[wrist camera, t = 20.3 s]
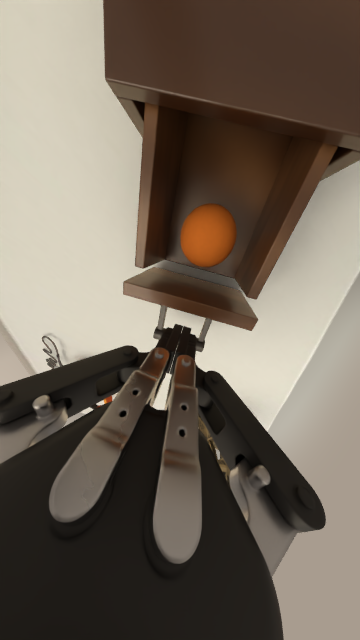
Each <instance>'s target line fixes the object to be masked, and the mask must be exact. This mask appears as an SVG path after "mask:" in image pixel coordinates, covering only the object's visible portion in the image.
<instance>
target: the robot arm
mask: <svg viewBox="0 0 360 640" xmlns="http://www.w3.org/2000/svg"><path fill="white" fill-rule="evenodd" d="M182 328H183V330H182ZM181 331H182V333H181ZM190 332H191V328H188V327H185V326H184V327H183V326H181V325H178V324H175V326H174V328H173V329H172V328H169V327H168V328H167V329H165V330H164V332H163V334H162V336H161V338H160V340H159V342H158V344H157V346H156V348H154V349H152V350H151V351H150V352H147V353H141V352H138V350H137V348H135V347H133V346H123V347H120V348H117V349H114V350H111V351H107V352H104V353H101V354H98V355H95V356H92V357H89V358H86V359H83V360H80V361H77V362H74V363H70V364H67V365H64V366H61V367H58V368H55V369H52V370H49V371H46V372H43V373H40V374H36V375H33V376H30V377H27V378H24V379H21V380H18V381H15V382H12V383H9V384H6V385H3V386H0V640H283V630H282V621H281V614H280V608H279V603H278V599H277V595H276V591H275V587H274V584H273V580H272V576H273V574H274V573H275V571H276V569H277V567H278V566H279V564H280V562H281V560H282V558H283V557H284V555H285V553H286V551H287V550H288V548H289V546H290V544H291V543H292V541H293V539H294V537H295V536H296V534H297V533H301V532H307V531H313V530H320V529H322V528H323V527H324V526H325V521H326V519H325V512H324V509H323V506H322V504H321V502H320V499H319V498H318V496H317V494H316V493H315V491H314V490H313V488H312V487H311V486H310V484H309V483H308V482H307V481H306V480H305V478H304V477H303V476H302V475H301V474H300V472H299V471H298V470H297V468H296V467H295V466H294V465H293V463H292V462H291V461H290V460H289V458H288V457H287V456H286V455H285V453H284V452H283V451H282V450H281V449H280V447H279V446H278V445H277V444H276V442H275V441H274V440H273V439H272V437H271V436H270V435H269V434H268V432H267V431H266V430H265V429H264V427H263V426H262V425H261V424H260V423H259V421H258V420H257V419H256V418H255V416H254V415H253V414H252V413H251V411H250V410H249V409H248V408H247V406H246V405H245V404H244V403H243V401H242V400H241V399H240V398H239V397H238V395H237V394H236V393H235V392H234V390H233V389H232V388H231V387H230V385H229V384H228V383H227V382H226V380H225V379H224V378H223V377H222V376H221V375H220V374H219V373H217V372H215V371H208V372H204V371H203V370H201V369H200V368H198V366H197V365H196V363H195V353H196V345H197V338H196V336H195V335H193V334H190ZM180 335H181V336H180ZM179 338H180V340H179ZM178 342H179V343H178ZM177 345H178V346H177ZM176 348H177V350H176ZM175 352H176V353H175ZM174 355H175V357H174ZM173 358H174V360H173ZM172 362H173V364H172ZM171 365H172V367H171ZM170 368H171V371H170ZM169 371H170V374H172V377H171V380H170V384H169V389H168V394H167V399H166V404H165V409H164V410H156V409H155V408H153V407H152V406H153V403H154V401H155V399H156V396H157V394H158V392H159V389H160V387H161V385H162V382H163V379H164V378H165V375H166V373H169ZM117 392H119V393H118V394H117V396H116V397H115V399H114V400H113V401H112V402H108V403H106V404H104V405H101V406H100V407H98V408H96V409H94V410H93V411H91V412H89V413H87V414H86V415H84V416H82V417H81V418H79V419H77V420H75V421H74V422H72V423H70V424H68V425H67V426H65V427H63V426H64V425H65V423H66V421H67V419H68V418H69V417H71V416H73V415H75V414H77V413H79V412H81V411H83V410H85V409H86V408H88V407H90V406H92V405H94V404H96V403H98V402H100V401H102V400H104V399H106V398H108V397H110V396H111V395H113V394H115V393H117ZM198 413H199V415H200V417H201V418H202V420H203V422H204V424H205V426H206V428H207V429H208V431H209V433H210V435H211V437H212V439H213V440H214V442H215V444H216V446H217V448H218V450H219V451H220V453H221V455H222V457H223V459H224V461H225V462H226V464H227V466H228V468H229V470H230V476H229V481H230V486H229V484H228V482H227V480H226V478H225V476H224V474H223V472H222V470H221V468H220V466H219V464H218V462H217V459H216V457H215V455H214V453H213V451H212V449H211V447H210V445H209V443H208V441H207V439H206V437H205V436H204V434H203V433H202V432H201V430H200V429H199V428H198ZM62 427H63V428H62ZM230 487H231V488H230Z"/></svg>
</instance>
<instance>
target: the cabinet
mask: <svg viewBox="0 0 360 640" xmlns="http://www.w3.org/2000/svg"><path fill="white" fill-rule="evenodd" d="M103 9H104V50H105V79H106V81H107V83H108V85H109V86H110V88H111V89H112V91H113V92H114V94H115V95H116V97H117V99H118V100H119V102H120V103H121V105H122V106H123V108H124V109H125V111H126V113H127V114H128V116H129V117H130V119H131V120H132V122H133V123H134V125H135V127H136V128H137V130H138V131H139V133H140V134H141V136H142V137H143V127H144V111H145V102H146V103H150V104H155V105H159V106H163V107H168V108H172V109H177V110H181V111H185V112H190V113H194V114H199V115H203V116H207V117H212V118H216V119H221V120H225V121H229V122H234V123H238V124H243V125H247V126H252V127H256V128H260V129H265V130H269V131H274V132H278V133H282V134H287V135H291V136H296V137H300V138H304V139H309V140H313V141H318V142H322V143H326V144H331V145H335V146H338V148H337V150H336V152H335V153H334V155H333V157H332V159H331V161H330V163H329V165H328V167H327V168H326V170H325V172H324V174H323V176H322V178H321V180H323V179H325V178H327V177H329V176H331V175H333V174H334V173H336V172H338V171H340V170H342V169H344V168H346V167H348V166H349V165H351V164H353V163H355V162H357V161H359V160H360V0H103ZM321 180H320V181H321Z"/></svg>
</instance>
